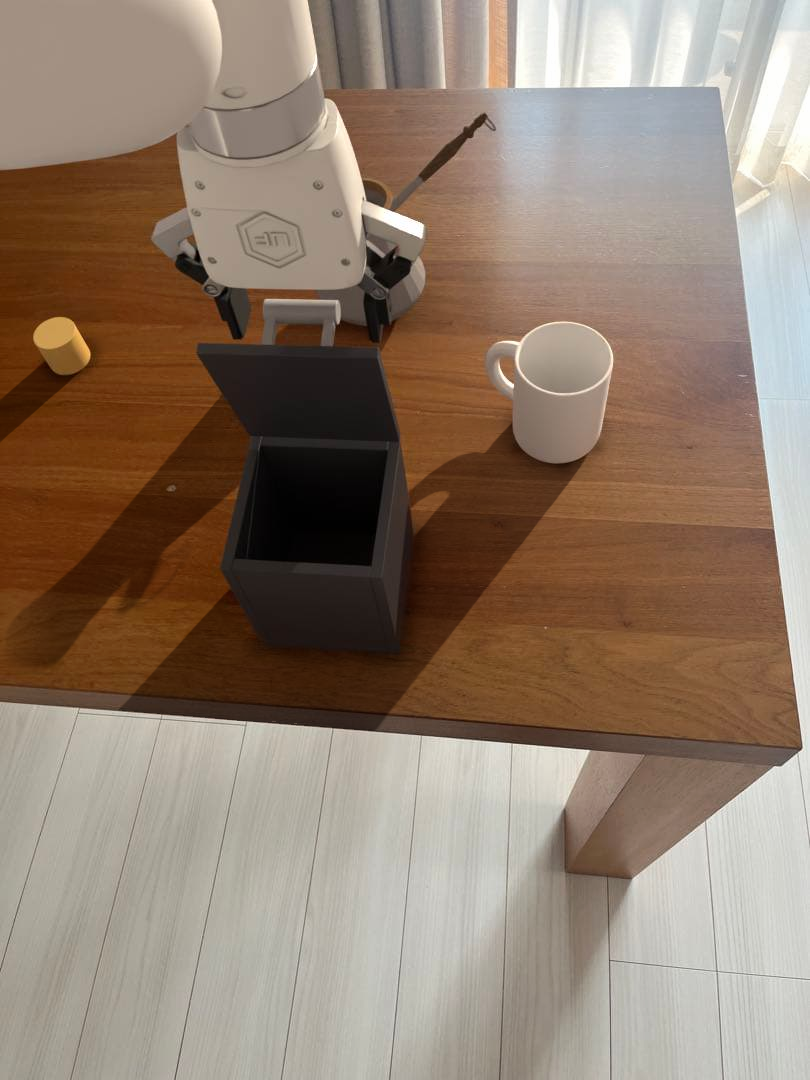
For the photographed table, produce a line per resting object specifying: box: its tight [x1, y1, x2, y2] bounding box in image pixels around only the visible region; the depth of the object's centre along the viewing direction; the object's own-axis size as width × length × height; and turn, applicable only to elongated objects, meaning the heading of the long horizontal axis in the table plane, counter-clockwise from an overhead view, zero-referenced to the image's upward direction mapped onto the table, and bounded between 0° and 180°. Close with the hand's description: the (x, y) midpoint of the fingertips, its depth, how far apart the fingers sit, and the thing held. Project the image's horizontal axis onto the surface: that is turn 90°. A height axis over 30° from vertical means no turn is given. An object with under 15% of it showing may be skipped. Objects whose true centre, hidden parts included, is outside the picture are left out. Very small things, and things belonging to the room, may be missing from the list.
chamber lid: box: [195, 298, 401, 442], centre depth 63 cm, size 13×12×5 cm
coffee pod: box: [32, 316, 91, 376], centre depth 92 cm, size 4×4×4 cm
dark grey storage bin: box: [219, 436, 415, 655], centre depth 71 cm, size 12×12×14 cm
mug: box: [484, 321, 614, 464], centre depth 80 cm, size 12×8×10 cm
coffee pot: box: [316, 112, 497, 327], centre depth 89 cm, size 21×12×15 cm, turn 124°
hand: (309, 326), depth 62 cm, fingers open, 9 cm apart
